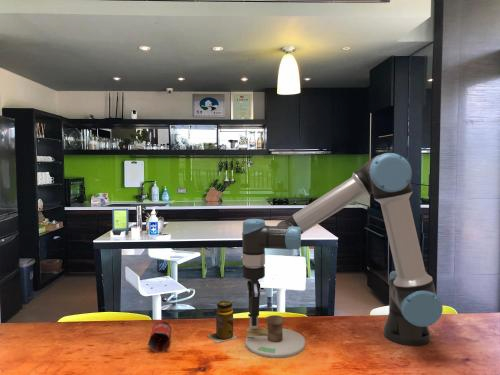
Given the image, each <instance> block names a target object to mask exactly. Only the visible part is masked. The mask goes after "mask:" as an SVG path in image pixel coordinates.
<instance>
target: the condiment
mask: <svg viewBox="0 0 500 375" xmlns="http://www.w3.org/2000/svg"><path fill="white" fill-rule="evenodd" d="M215 316H216V317H215V321H216V323H215V333H211V334H207V335H206V336H208V338H209V339H211V340H212V341H213V342H214V343H216V344H219V343H221V342H227V341H231V340H233V339H238V336H237V335H235V334H234V310H233V303H232V302H231V301H228V300H222V301H219V302H218V303H217V304H216V312H215Z"/></svg>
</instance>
